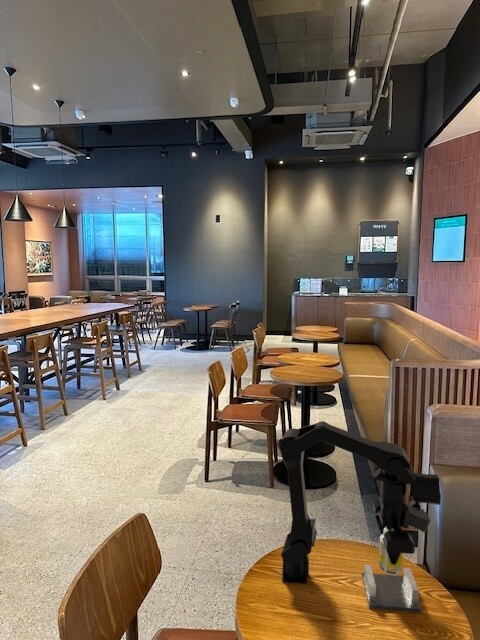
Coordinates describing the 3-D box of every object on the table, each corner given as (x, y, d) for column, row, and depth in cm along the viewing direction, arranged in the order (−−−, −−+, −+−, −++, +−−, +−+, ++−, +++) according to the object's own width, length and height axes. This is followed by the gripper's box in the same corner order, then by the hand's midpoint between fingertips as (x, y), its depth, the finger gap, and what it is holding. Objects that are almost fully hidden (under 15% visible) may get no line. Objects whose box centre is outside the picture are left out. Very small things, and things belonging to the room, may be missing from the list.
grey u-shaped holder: (421, 612, 102) (421, 595, 101) (369, 608, 103) (369, 591, 103) (408, 580, 113) (409, 564, 112) (362, 576, 114) (362, 560, 114)
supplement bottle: (406, 570, 107) (408, 531, 106) (394, 580, 103) (396, 540, 102) (386, 558, 111) (388, 521, 110) (374, 568, 108) (375, 530, 107)
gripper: (440, 521, 95) (436, 586, 97) (416, 481, 113) (413, 536, 115) (388, 517, 96) (385, 581, 98) (373, 478, 115) (371, 532, 117)
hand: (390, 556), depth 107 cm, fingers closed on supplement bottle, 5 cm apart
